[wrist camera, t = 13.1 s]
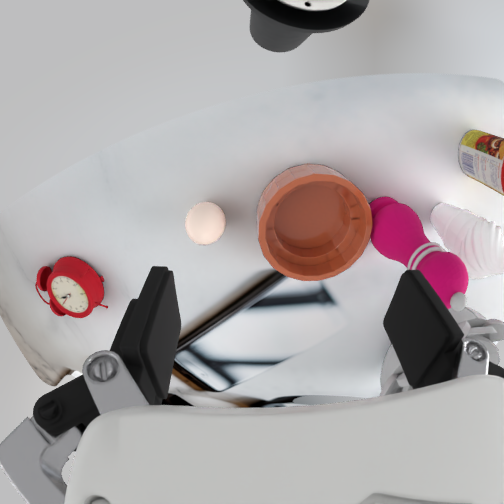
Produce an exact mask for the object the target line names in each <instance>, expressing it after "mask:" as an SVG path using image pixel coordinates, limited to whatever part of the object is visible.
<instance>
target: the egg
mask: <svg viewBox="0 0 504 504" xmlns="http://www.w3.org/2000/svg"><path fill="white" fill-rule="evenodd" d="M225 225H226V219H225V215H224V212H223V211H222V209H221V208H220V207H219V206H218V205H216V204H214V203H211V202H201V203H198V204H196V205H195V206H193V207H192V208H191V209H190V211H189V212H188V214H187V216H186V220H185V229H186V232H187V234H188V236H189V237H190V239H191V240H192V241H193V242H195V243H197V244H199V245H209V244H212V243H214V242H216V241H217V240H218V239H219V238H220V237H221V236H222V234H223V232H224V230H225Z"/></svg>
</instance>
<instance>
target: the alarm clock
mask: <svg viewBox="0 0 504 504" xmlns="http://www.w3.org/2000/svg"><path fill="white" fill-rule="evenodd" d="M102 282H104V279H103V277H102V276H101V277H99V276H98V274H97V273H96V272H95V270H94V269H93V268H92V267H91V266H89V265H88V264H87V263H86V262H84V261H82V260H80V259H78V258H75V257H63V258H61V259H59V260H58V261H57V262H56V263H55V265H54V267H53V272H52V271H51V269H50V267H48V266H44V267H42V268H41V269H40V270H39V271H38V274H37V282H36V285H35V286H36V289H37V285H38V287H39V289H40V290H42V291H48V295H49V297H50V302H49V303H48V302H46V301H45V300H44V299H43V298H42V296H41V295H40V293H39V291H38V289H37V292H38V294H39V295H40V297H41V298H42V300H43V301H44V302H45V303H47V304H49V305H50V308H51V310H52V311H53V312H54V313H55V314H56V315H58V316H64V315H66V314H67V315H69V316H72V317H75V318H84V317H86V316H88V315H89V314H90V313H91V312H92V310H93V308H95V307H97V306H98V305H100V306H103V307H106V308H108V306H104V305H102V304H100V303H101V301H102V299H103V297H104V288H103V284H102Z"/></svg>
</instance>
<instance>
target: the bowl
mask: <svg viewBox="0 0 504 504" xmlns="http://www.w3.org/2000/svg"><path fill="white" fill-rule="evenodd" d="M372 225H373V223H372V214H371V208H370V206H369V204H368V202H367V200H366V198H365V196H364V194H363V193H362V192H361V191H360V190H359V189H358V188H357V187H356V186H355V185H354V184H353V183H352V182H350V181H349V180H348V179H347V178H346V177H344V176H343V175H342V174H341V173H339V172H338V171H336V170H334V169H331V168H329V167H327V166H324V165H315V164H304V165H300V166H296V167H292V168H289V169H287V170H286V171H284V172H282V173H281V174H279V175H278V176H276V177H275V178H274V179H273V180H272V181H271V182H270V183H269V185H268V186H267V187H266V188H265V190H264V191H263V193H262V195H261V198H260V200H259V203H258V206H257V231H258V240H259V243H260V246H261V249H262V252H263V255H264V257H265V258H266V259H267V261H268V262H269V263H270V264H271V266H272V267H273V268H274V269H276V270H277V271H279V272H280V273H282V274H284V275H285V276H287V277H290V278H294V279H298V280H301V281H319V280H323V279H327V278H330V277H333V276H336V275H338V274H339V273H341V272H343V271H344V270H346V269H348V268H349V267H350V266H351V265H352V264H353V263H354V262H355V261H356V260H357V259H358V258H359V257H360V256H361V255H362V253H363V252H364V250H365V248H366V246H367V244H368V242H369V240H370V235H371V230H372Z"/></svg>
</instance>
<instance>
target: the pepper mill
mask: <svg viewBox="0 0 504 504" xmlns="http://www.w3.org/2000/svg"><path fill="white" fill-rule="evenodd" d="M369 206H370V208H371V214H372V223H373V225H372V230H371V235H370V237H371V241H372V244H373V245H374V247H375V248H376V249H377V250H378V251H379V252H380V253H381V254H382V255H384V256H385V257H387V258H389V259H392V260H396V261H399V262H401V263H402V264H404V265H405V266H406V267H407V270H420V271H421V273H422V274H423V275H424V277H425V278H426V279H427V281H428V282H429V283H430V285H431V286H432V287H433V289H434V290H435V292H436V293H437V294H438V296H439V297H440V299H441V300H442V301H443V303H444V304H445V306H446V307H447V309H450V308H452V309H453V310H455V311H461V310H463V309H464V308H465V307H466V304H467V298H466V296H465V295H464V294H465V292H466V289H467V286H468V272H467V268H466V266H465V264H464V263H463V261H462V260H461V259H460V258H459V257H458V256H457V255H455V254H453V253H451V252H446V251H445V250H444V249H443V248H442V247H441V246H440V245H439V244H437V243H434V242H430V241H429V240H428V239H427V237H426V236H425V234H424V231H423V227H422V223H421V221H420V219H419V217H418V215H417V214H416V213H415V212H414V211H413V210H412V209H411V208H410V207H409V206H407V205H405V204H401V203H398V202H397V201H396V200H394V199H393V198H390V197H380V198H377V199H375V200H374V201H372V202H371V203H370V204H369Z"/></svg>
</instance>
